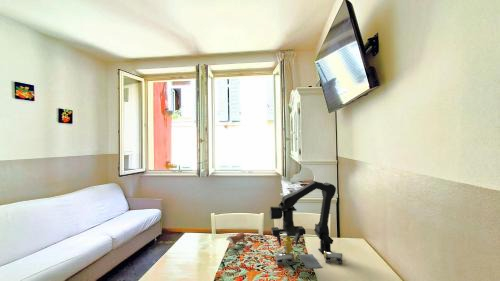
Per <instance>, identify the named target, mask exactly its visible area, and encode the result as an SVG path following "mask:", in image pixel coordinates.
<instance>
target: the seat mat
mask: <svg viewBox="0 0 500 281" xmlns="http://www.w3.org/2000/svg"><path fill="white" fill-rule="evenodd" d="M298 257H299V259H300V260H301V262H302V263H303V265H304V267H305V268H306V269H307V270H309V269H323V266H322V265H321V264H320V262H319V261H318V260H317V258H316V257H315V256H314V254H312V253H309V254H306V253H305V254H298Z"/></svg>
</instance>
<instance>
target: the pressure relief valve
mask: <svg viewBox="0 0 500 281" xmlns="http://www.w3.org/2000/svg"><path fill="white" fill-rule="evenodd" d="M291 244H293V238H291V236H290V237H288V236H287V235H286V236H285V237H284V238H283V244H282V246H283V248H284V249H282V250H279V251H277V252H276V254H284V253H285V254H291V253H292V252H293V250H294V248H293V247H292V246H291Z"/></svg>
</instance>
